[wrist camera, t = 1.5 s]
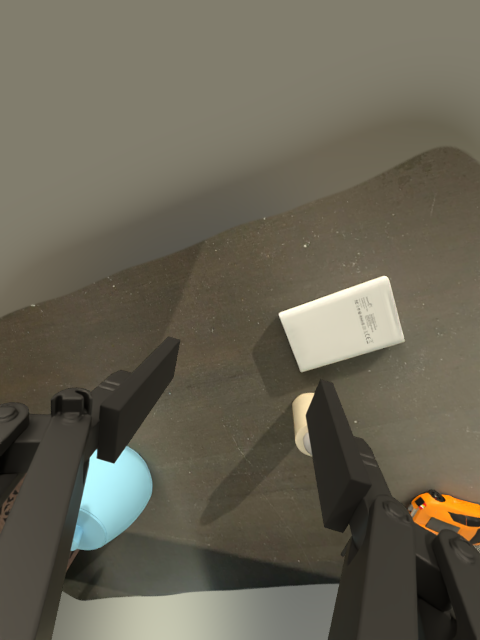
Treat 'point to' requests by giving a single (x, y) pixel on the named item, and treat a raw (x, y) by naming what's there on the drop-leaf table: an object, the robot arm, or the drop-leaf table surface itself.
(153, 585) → the drop-leaf table surface
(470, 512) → the toy car
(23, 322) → the drop-leaf table surface
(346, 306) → the hard drive
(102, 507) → the sugar bowl
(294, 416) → the salt shaker
